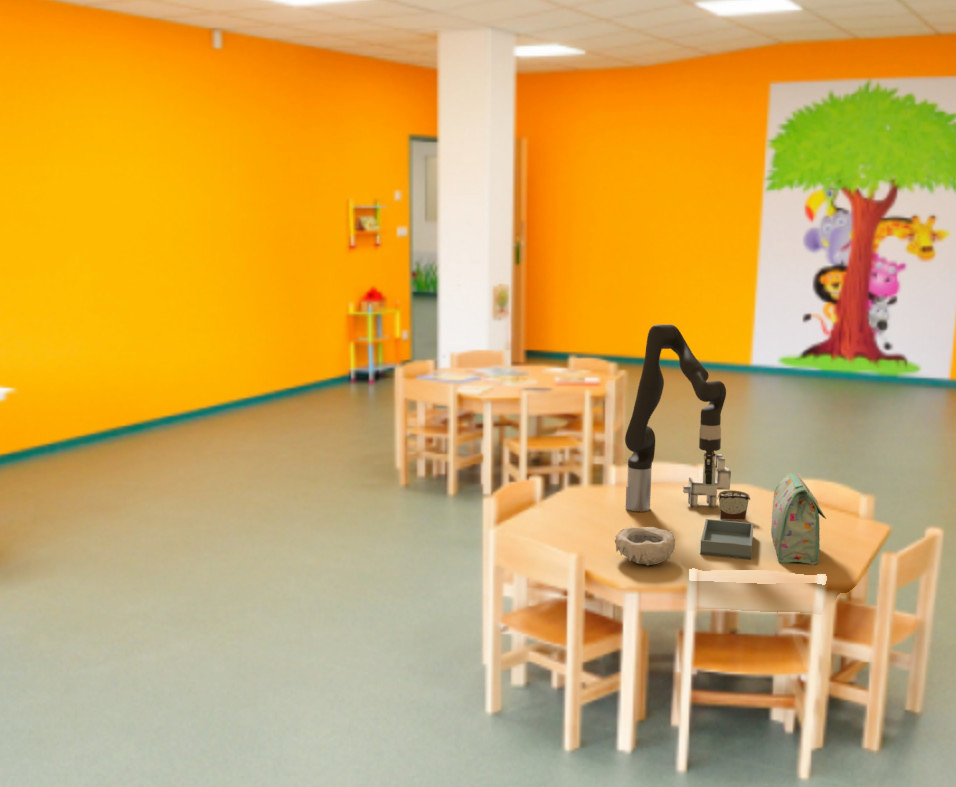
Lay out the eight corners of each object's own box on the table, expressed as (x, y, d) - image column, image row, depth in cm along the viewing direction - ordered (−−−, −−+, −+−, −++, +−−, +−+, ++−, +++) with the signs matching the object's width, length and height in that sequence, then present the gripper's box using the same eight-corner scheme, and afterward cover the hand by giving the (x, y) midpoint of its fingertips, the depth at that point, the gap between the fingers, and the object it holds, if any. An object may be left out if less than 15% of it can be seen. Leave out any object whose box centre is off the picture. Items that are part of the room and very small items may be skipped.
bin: (700, 554, 348) (700, 540, 347) (705, 531, 371) (705, 518, 369) (750, 559, 343) (751, 545, 342) (752, 536, 366) (753, 523, 365)
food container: (746, 515, 389) (748, 490, 387) (749, 520, 383) (750, 495, 381) (714, 514, 390) (715, 489, 388) (716, 519, 384) (717, 494, 382)
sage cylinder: (702, 485, 361) (702, 466, 360) (703, 482, 366) (703, 463, 364) (714, 486, 360) (715, 467, 359) (715, 482, 364) (716, 464, 363)
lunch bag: (824, 566, 337) (830, 490, 331) (773, 563, 340) (778, 487, 334) (814, 543, 359) (819, 470, 354) (766, 540, 362) (771, 468, 356)
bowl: (682, 571, 332) (684, 543, 330) (622, 573, 331) (623, 544, 329) (666, 549, 353) (667, 522, 351) (609, 551, 351) (610, 523, 349)
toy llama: (681, 501, 406) (683, 453, 402) (725, 501, 405) (727, 454, 401) (684, 507, 399) (686, 458, 395) (728, 507, 398) (731, 459, 394)
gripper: (700, 431, 367) (699, 476, 371) (698, 440, 354) (697, 487, 357) (721, 432, 365) (720, 477, 368) (719, 441, 352) (718, 488, 355)
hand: (709, 482), depth 363 cm, fingers closed on sage cylinder, 4 cm apart
